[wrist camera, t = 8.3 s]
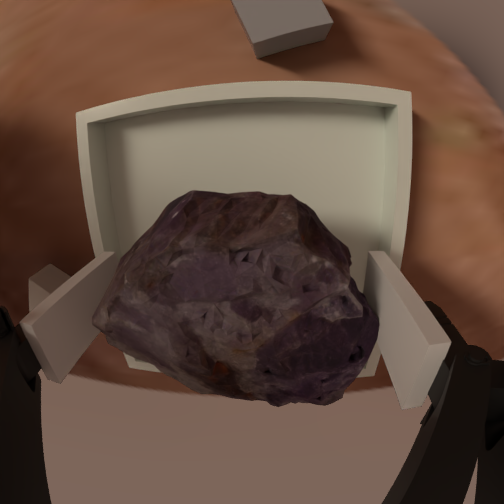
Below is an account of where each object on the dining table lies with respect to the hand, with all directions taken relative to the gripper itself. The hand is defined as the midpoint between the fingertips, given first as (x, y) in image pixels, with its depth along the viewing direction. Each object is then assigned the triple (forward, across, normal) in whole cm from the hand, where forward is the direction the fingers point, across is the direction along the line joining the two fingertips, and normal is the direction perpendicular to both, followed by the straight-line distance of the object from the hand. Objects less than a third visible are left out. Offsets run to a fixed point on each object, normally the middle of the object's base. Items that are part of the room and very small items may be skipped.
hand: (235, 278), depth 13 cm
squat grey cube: (+5, +2, +13) cm, 14 cm away
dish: (+4, 0, 0) cm, 4 cm away
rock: (+3, +1, 0) cm, 3 cm away
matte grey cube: (+5, -15, -4) cm, 16 cm away
